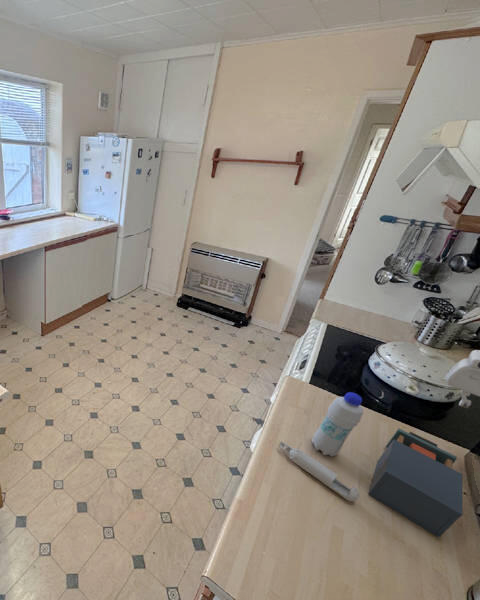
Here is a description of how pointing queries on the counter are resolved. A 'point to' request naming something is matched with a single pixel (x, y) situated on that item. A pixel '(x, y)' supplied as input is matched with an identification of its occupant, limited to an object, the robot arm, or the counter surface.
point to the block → (423, 451)
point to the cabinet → (418, 488)
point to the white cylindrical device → (320, 472)
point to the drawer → (423, 446)
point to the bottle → (338, 424)
